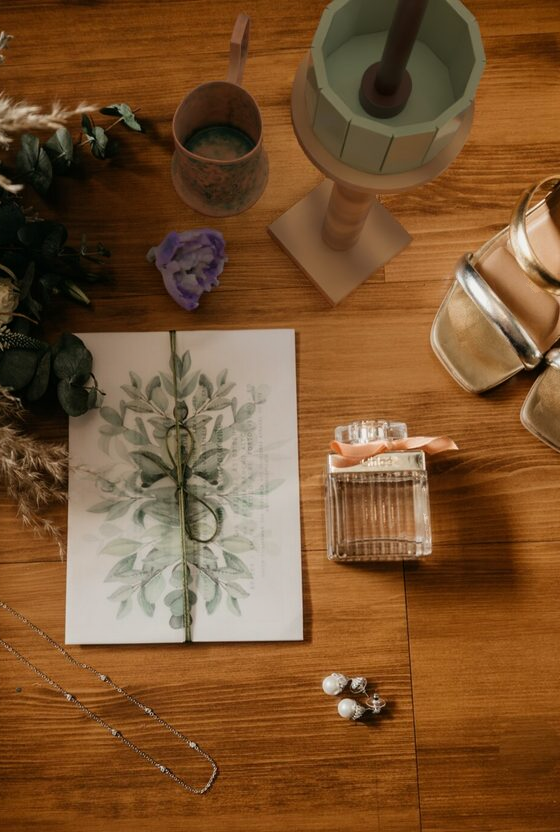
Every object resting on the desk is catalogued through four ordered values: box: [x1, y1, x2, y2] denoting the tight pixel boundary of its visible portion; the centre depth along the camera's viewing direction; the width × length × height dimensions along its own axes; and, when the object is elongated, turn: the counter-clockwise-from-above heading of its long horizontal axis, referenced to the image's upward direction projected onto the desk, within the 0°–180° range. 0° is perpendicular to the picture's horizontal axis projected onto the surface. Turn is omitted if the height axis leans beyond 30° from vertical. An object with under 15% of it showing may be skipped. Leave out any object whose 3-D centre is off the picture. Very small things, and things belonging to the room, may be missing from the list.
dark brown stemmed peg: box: [358, 0, 430, 119], centre depth 52 cm, size 4×4×12 cm
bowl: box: [304, 0, 487, 175], centre depth 56 cm, size 13×13×6 cm
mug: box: [170, 12, 270, 218], centre depth 79 cm, size 12×18×12 cm, turn 166°
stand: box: [266, 48, 476, 308], centre depth 71 cm, size 15×15×26 cm
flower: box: [146, 227, 229, 312], centre depth 80 cm, size 9×9×10 cm
